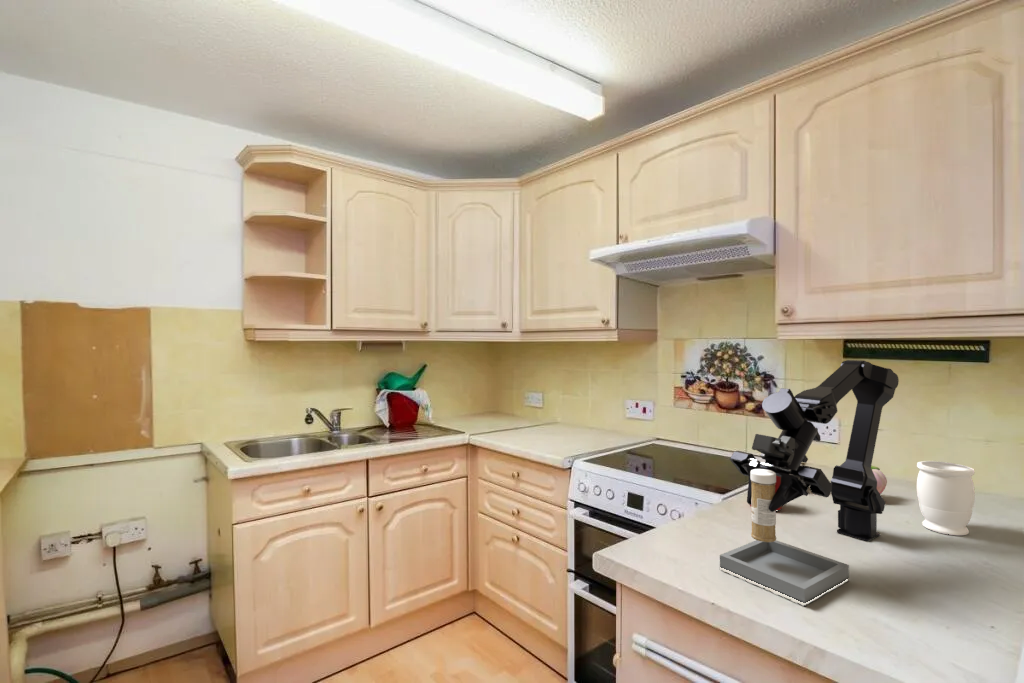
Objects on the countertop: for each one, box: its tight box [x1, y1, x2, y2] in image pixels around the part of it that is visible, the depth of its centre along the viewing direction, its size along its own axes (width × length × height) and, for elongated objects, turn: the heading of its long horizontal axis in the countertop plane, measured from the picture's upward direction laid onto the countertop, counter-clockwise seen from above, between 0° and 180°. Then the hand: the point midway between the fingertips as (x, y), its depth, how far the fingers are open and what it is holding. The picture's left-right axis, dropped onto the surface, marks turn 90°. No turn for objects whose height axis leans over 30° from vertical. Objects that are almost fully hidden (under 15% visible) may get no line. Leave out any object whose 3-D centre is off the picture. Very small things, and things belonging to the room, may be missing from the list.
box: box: [719, 539, 850, 603], centre depth 95 cm, size 16×16×3 cm
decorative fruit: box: [871, 465, 888, 495], centre depth 139 cm, size 9×8×10 cm
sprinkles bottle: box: [750, 469, 777, 542], centre depth 99 cm, size 5×5×14 cm
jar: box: [916, 460, 976, 536], centre depth 117 cm, size 11×10×15 cm
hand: (759, 506), depth 98 cm, fingers closed on sprinkles bottle, 4 cm apart
